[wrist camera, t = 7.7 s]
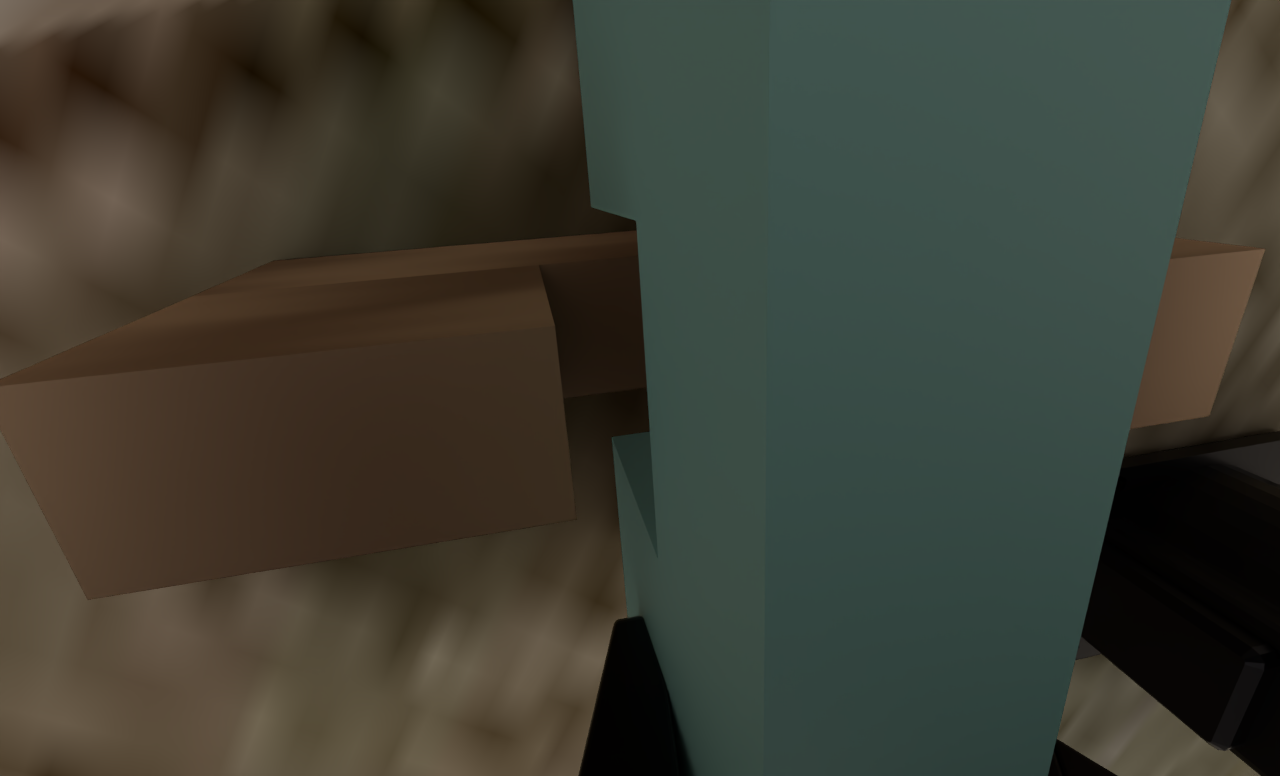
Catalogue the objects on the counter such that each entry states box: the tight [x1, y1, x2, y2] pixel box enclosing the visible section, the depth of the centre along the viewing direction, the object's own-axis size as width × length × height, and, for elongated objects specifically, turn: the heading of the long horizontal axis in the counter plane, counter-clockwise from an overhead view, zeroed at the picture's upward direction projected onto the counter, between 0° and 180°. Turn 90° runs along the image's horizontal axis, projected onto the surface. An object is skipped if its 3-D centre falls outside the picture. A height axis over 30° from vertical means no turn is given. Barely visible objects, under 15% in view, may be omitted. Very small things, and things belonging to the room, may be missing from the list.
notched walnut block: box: [0, 230, 1265, 600], centre depth 9 cm, size 12×2×6 cm, turn 93°
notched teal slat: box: [573, 0, 1231, 776], centre depth 6 cm, size 12×2×6 cm, turn 3°
